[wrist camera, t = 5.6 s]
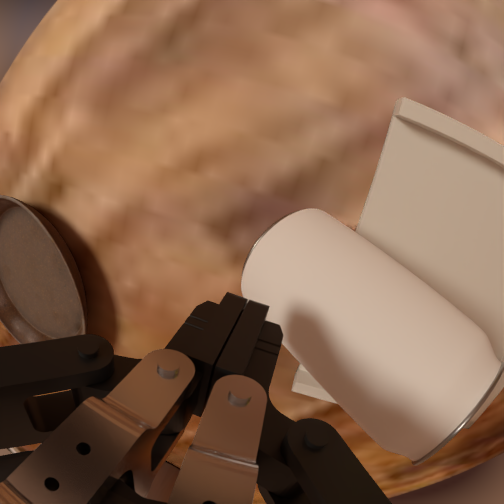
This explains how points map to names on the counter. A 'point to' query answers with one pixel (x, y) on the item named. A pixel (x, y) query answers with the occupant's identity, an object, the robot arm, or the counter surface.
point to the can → (371, 333)
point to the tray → (439, 219)
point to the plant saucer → (37, 277)
